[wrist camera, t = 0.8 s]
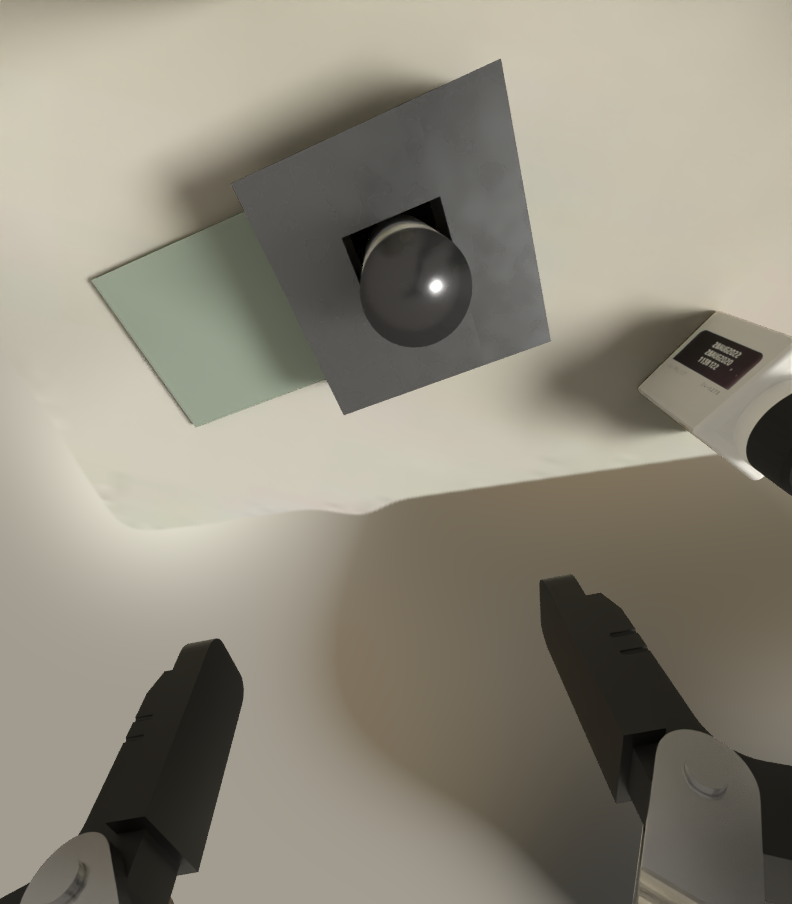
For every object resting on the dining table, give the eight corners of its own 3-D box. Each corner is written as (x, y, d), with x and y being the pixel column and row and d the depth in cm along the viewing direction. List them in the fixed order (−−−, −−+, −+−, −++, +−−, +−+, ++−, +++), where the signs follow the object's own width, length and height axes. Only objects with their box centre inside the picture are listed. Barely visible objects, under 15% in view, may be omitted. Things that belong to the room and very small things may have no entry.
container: (634, 388, 35) (753, 479, 24) (716, 307, 32) (897, 370, 21) (690, 432, 38) (821, 534, 27) (771, 362, 34) (959, 444, 23)
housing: (258, 184, 27) (231, 183, 22) (474, 85, 25) (500, 58, 19) (348, 380, 34) (343, 415, 29) (522, 316, 32) (550, 341, 27)
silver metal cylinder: (353, 232, 28) (341, 256, 18) (424, 202, 28) (454, 209, 17) (380, 305, 31) (383, 362, 21) (446, 279, 30) (484, 325, 20)
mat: (96, 278, 29) (91, 280, 29) (252, 208, 27) (250, 208, 27) (198, 423, 35) (195, 427, 35) (331, 374, 33) (330, 376, 33)
